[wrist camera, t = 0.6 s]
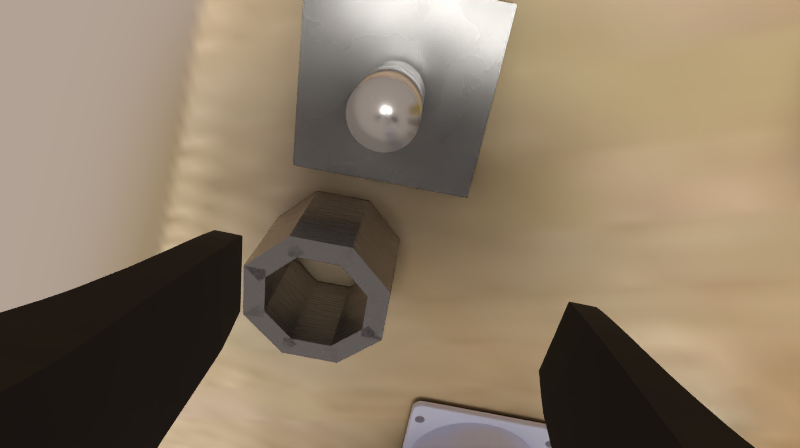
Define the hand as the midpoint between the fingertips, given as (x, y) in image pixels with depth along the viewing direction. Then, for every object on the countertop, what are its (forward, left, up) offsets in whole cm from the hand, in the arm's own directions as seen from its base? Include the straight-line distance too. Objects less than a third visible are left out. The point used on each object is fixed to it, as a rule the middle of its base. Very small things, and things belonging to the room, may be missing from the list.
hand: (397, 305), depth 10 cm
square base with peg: (+3, +1, -10) cm, 10 cm away
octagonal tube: (-5, +3, -10) cm, 11 cm away
